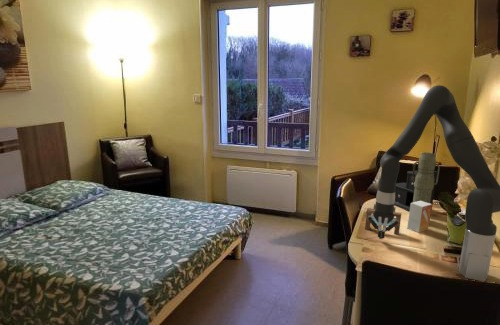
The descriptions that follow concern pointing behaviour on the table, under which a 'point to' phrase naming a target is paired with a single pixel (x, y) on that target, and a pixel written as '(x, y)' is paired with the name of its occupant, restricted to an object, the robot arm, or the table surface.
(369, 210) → the bridge
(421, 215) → the small box
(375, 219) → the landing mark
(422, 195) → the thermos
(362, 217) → the table surface
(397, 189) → the black drawer cabinet
